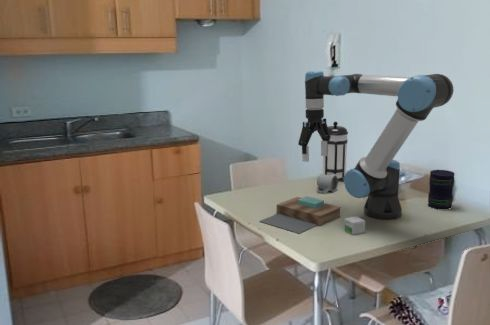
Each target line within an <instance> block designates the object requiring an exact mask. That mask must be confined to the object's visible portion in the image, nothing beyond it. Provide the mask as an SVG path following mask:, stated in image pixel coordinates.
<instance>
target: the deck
mask: <svg viewBox="0 0 490 325" xmlns="http://www.w3.org/2000/svg"><path fill="white" fill-rule="evenodd" d="M301 198H302V197H299V196H295V197H292V198H290V199H288V200H285V201H281V202H280V203H277V204H276V214H278V213H279V214H282V215H286V216H289V217H293V218H296V219H300V220H303V221H307V222H311V223H314V224H318V225H317V226H319V227H322V226H323V225H325V224H327V223H330V222H331V221H333V220H335V219H338V218H340V217H341V207H340V206H336V205H333V204H328V203H325V202H324V205H323V206H321V207H319V208H316V209H314V208H310V207H307V206H303V205H299V204H298V199H301Z"/></svg>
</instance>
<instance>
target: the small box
mask: <svg viewBox="0 0 490 325" xmlns="http://www.w3.org/2000/svg"><path fill="white" fill-rule="evenodd" d="M343 227H344V231H346V232H348V233H349V234H351V235H352V236H353V235H358V234H364V233H365V232H366V220H365V219H363V218H360V217H359V216H357V215H354V216H350V217H345V218H344V226H343Z"/></svg>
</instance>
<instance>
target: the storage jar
mask: <svg viewBox="0 0 490 325" xmlns="http://www.w3.org/2000/svg"><path fill="white" fill-rule="evenodd" d="M428 183H429V192H428V197H427V202H428V204H427V206H428V207H429V208H430V207H431V208H430V209H433V208H434V210H438V209H448V210H450V209H449V208H451V207H452V205H453V201H454V199H453V198H454V197H453V196H454V195H453V191H454V190H453V189H454V186H455V172H453V171H450V170H447V169H433V170H430V172H429V182H428ZM451 209H452V208H451Z"/></svg>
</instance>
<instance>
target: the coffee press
mask: <svg viewBox="0 0 490 325" xmlns="http://www.w3.org/2000/svg"><path fill="white" fill-rule="evenodd" d="M327 127H328V130H329V133H330V136H331V138H330V141H327V156H322V175H335V176H337V178H338V180H341V181H342V182H343V183H344V176H345V174H346V173H347V160H348V159H347V155H348V154H347V153H348V143H349V142H348V135H349V131H348V129H347V128H346V127H344V126H341V125H338V121H333V124H332V125H330V126H328V125H327ZM327 136H328V135H327Z"/></svg>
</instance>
